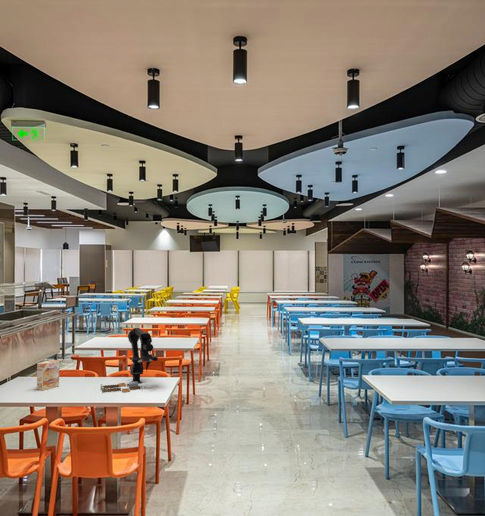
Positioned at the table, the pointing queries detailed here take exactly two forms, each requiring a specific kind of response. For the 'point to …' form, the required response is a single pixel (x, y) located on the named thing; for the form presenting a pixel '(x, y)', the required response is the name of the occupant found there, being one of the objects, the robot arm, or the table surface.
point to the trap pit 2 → (126, 390)
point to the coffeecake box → (47, 374)
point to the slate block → (133, 384)
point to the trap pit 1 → (122, 384)
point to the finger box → (116, 388)
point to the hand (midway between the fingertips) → (144, 370)
